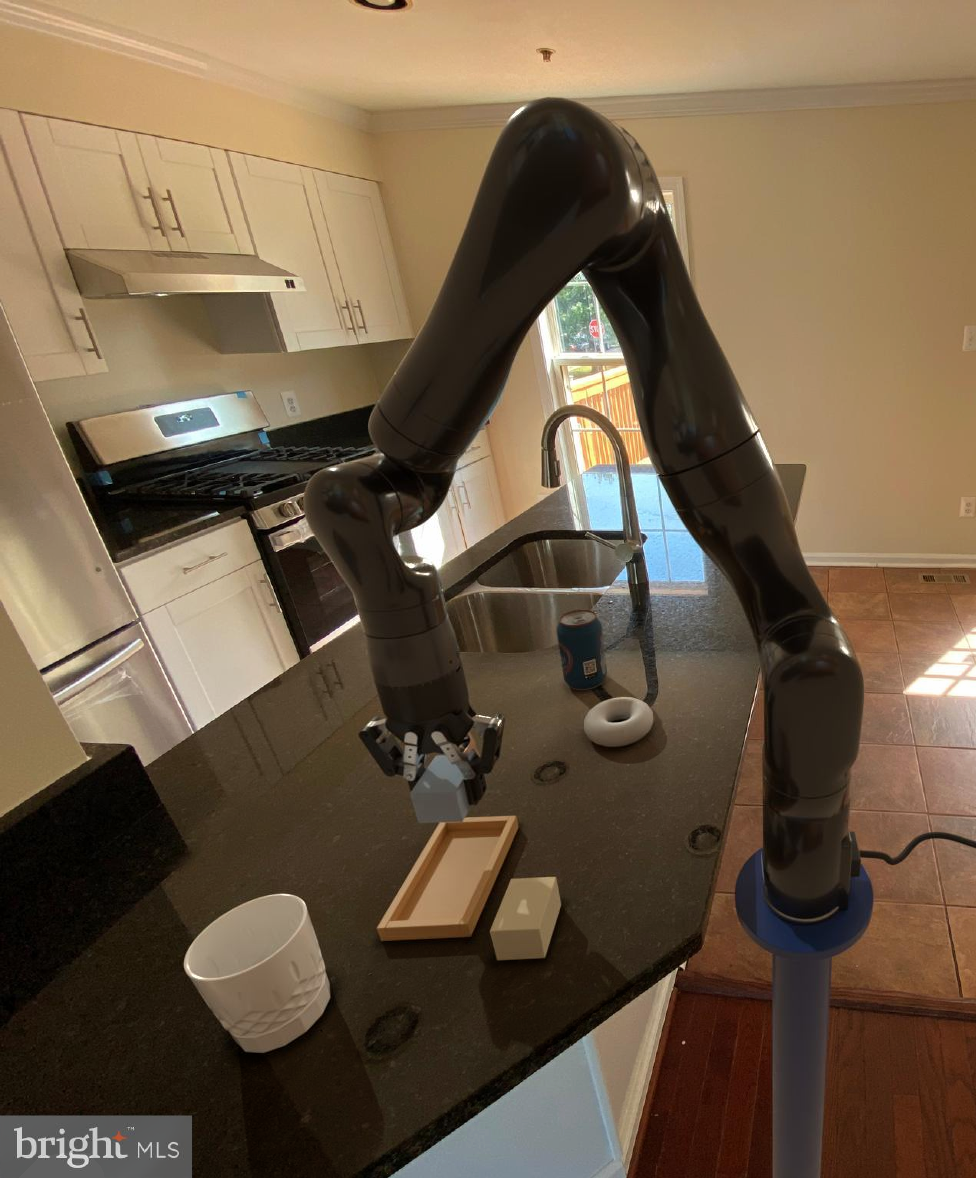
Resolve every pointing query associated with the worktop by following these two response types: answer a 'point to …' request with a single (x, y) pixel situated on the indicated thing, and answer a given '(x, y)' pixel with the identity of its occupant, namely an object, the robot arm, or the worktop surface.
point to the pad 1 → (440, 793)
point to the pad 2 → (526, 918)
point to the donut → (622, 732)
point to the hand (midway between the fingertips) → (452, 799)
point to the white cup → (261, 971)
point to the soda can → (581, 649)
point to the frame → (450, 880)
